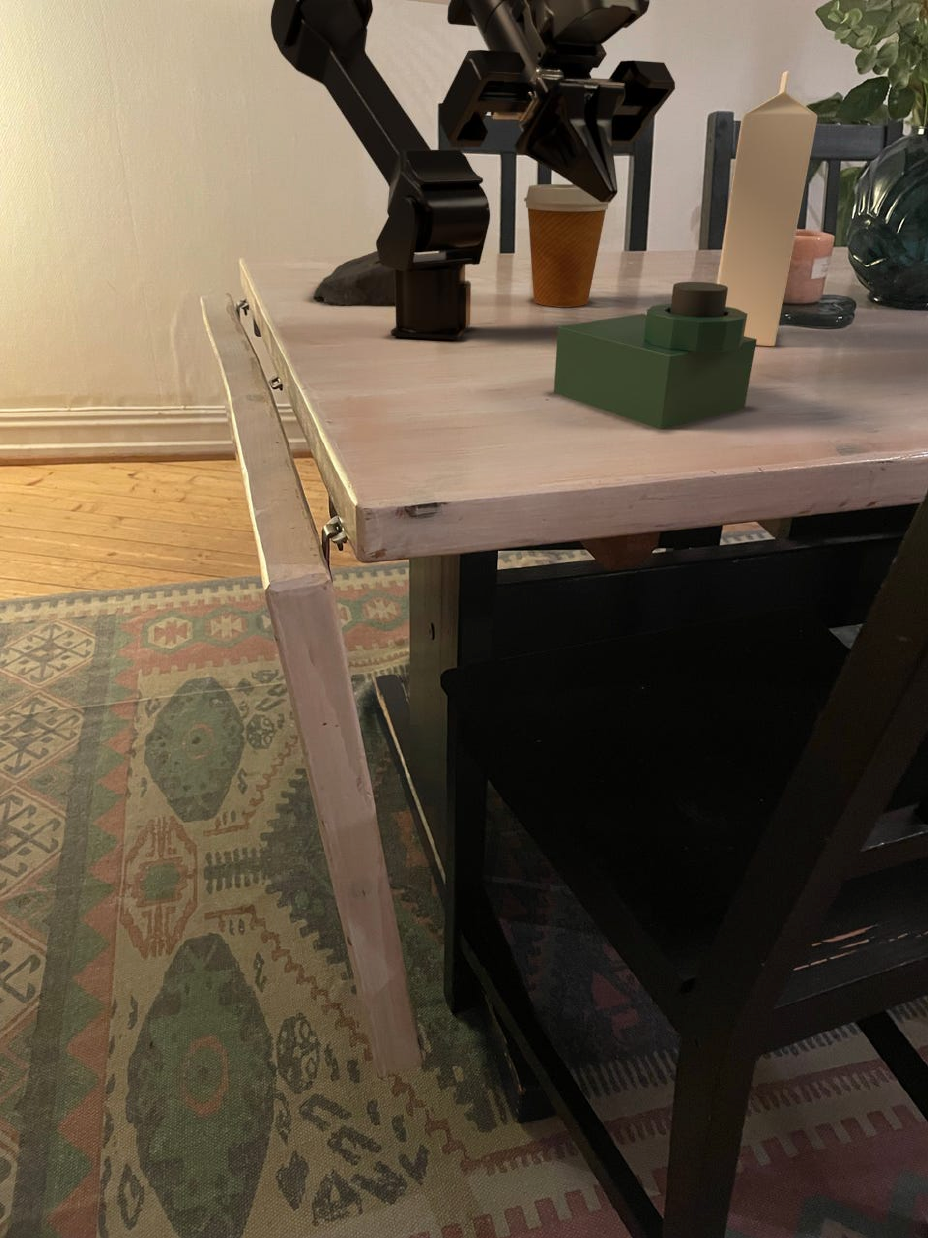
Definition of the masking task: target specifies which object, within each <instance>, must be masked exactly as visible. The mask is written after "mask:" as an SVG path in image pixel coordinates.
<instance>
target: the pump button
mask: <svg viewBox="0 0 928 1238" xmlns="http://www.w3.org/2000/svg"><path fill="white" fill-rule="evenodd" d="M727 292H728V287H727V286H724V285H721V284H717V282H716V283H714V282H708V281H707V282H706V281H681V282H676V283H674V284H673V285H672V293H671V300H670V303H671V308H670V313H671V314H675V315H680V316H686V317H697V318H716V317H722V316H724V311H725V305H726V299H727Z"/></svg>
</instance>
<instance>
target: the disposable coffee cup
mask: <svg viewBox="0 0 928 1238" xmlns="http://www.w3.org/2000/svg"><path fill="white" fill-rule="evenodd" d="M523 201H524V202H525V208H527V219H528V220H527V221H528V232H529V233H528V235H529V246H530V247H529V249H530V260H531V261H530V263H531V279H532V281H531V282H532V294H533V302H534V303H535V304H538V305H541V306H546V307H548V306H549V307H557V308H559V307H560V308H572V307H581V306H585V305H587V304H588V303H589V299H590V293H591V288H592V283H593V282H592V281H593V278H594V274H595V269H596V263H597V259H598V258H597V257H598V253H599V248H600V244H601V238H602V233H603V227H604V223H605V219H606V218H605V217H606V211H607V210H608V209H609V204H611V203H612V201H611V202H603V203H602V202H600V201H598V200H597V199H595V198H594V197H592V196H591V195H589V194H588V193H586V192H585V191H583V190H582V189H580V188H579V187H577V186H576V185H574V184H573V183H569V184H568V183H560V184H559V183H558V184H556V183H554V184H553V183H549V184H546V183H545V184H543V183H542V184H532V185H531V184H530V185H529V186H528V189H527V193H526V197H524V198H523Z"/></svg>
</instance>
